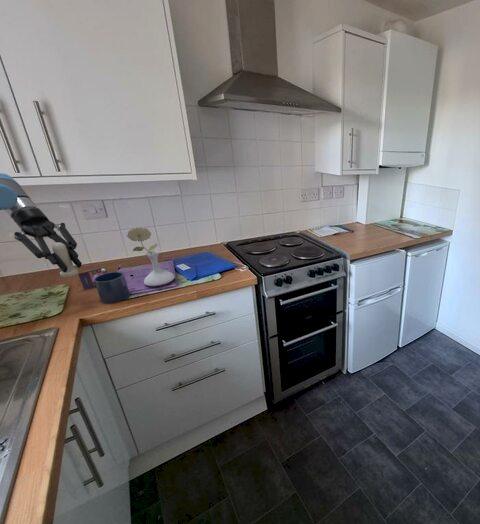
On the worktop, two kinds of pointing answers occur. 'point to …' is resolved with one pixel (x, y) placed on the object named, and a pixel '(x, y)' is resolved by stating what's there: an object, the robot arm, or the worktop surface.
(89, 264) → the worktop surface
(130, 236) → the flower in vase
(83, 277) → the purple printed box
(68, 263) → the game piece
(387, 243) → the worktop surface
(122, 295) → the cup
